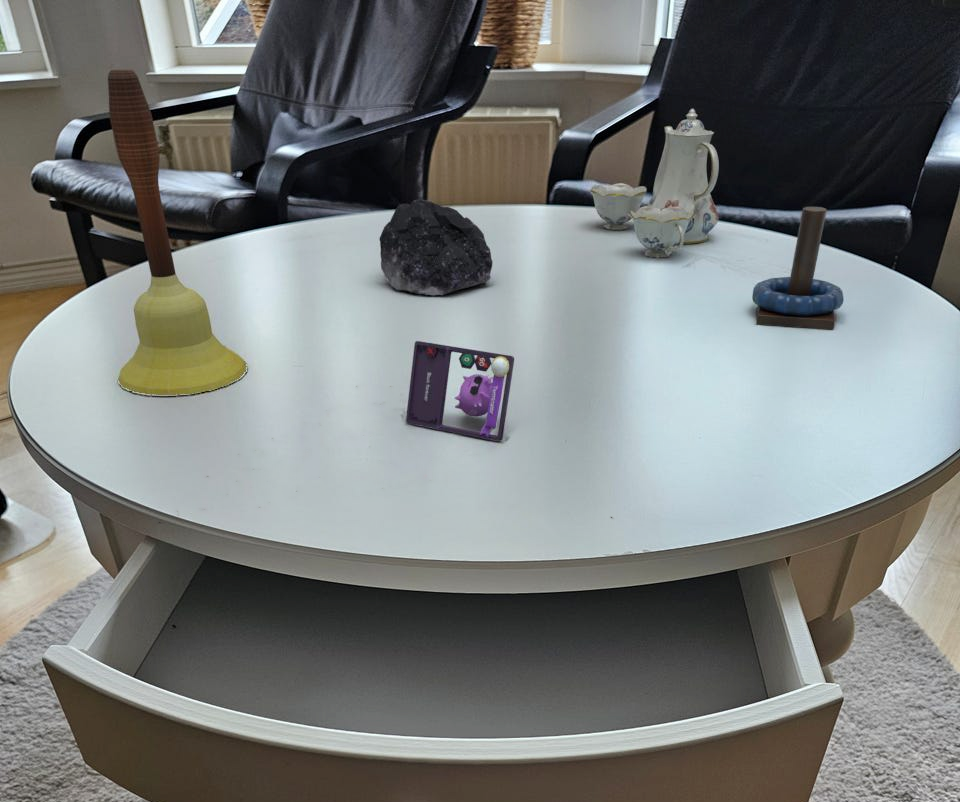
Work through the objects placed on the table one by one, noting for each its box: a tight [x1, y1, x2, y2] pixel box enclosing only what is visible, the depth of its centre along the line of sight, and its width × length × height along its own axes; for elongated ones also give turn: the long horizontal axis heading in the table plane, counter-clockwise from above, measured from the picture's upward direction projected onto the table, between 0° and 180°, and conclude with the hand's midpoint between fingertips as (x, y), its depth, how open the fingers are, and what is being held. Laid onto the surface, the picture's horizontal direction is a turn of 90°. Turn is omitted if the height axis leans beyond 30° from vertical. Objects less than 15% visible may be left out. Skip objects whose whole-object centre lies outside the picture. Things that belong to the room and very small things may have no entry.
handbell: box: [107, 69, 247, 395], centre depth 81 cm, size 12×12×25 cm
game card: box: [405, 340, 515, 442], centre depth 76 cm, size 7×5×9 cm
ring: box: [752, 276, 844, 316], centre depth 100 cm, size 10×10×2 cm
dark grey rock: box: [379, 199, 494, 296], centre depth 111 cm, size 13×14×10 cm
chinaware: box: [589, 108, 720, 259], centre depth 127 cm, size 28×17×17 cm, turn 17°
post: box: [755, 206, 836, 331], centre depth 97 cm, size 8×8×11 cm
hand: (948, 6), depth 87 cm, fingers open, 8 cm apart
